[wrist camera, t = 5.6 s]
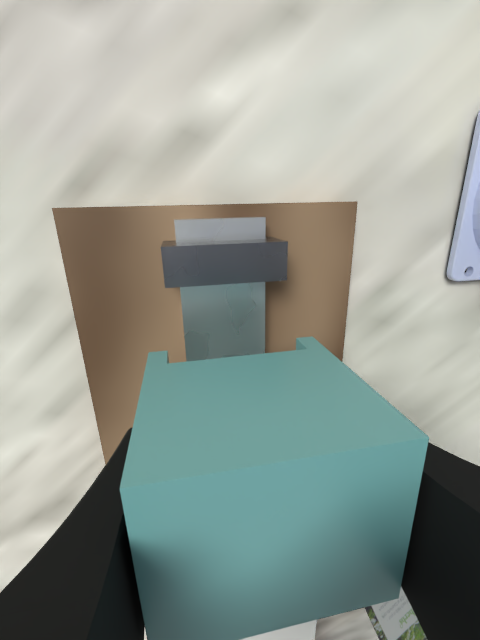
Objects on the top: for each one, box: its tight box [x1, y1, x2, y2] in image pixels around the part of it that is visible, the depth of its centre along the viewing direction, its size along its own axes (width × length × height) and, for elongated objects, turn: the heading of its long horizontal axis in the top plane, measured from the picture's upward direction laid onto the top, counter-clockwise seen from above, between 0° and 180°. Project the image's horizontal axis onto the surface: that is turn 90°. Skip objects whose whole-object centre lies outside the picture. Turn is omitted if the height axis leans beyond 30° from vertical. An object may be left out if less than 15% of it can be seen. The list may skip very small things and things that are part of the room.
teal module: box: [120, 336, 429, 640], centre depth 9 cm, size 6×4×6 cm
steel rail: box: [161, 217, 288, 361], centre depth 15 cm, size 4×21×2 cm, turn 1°
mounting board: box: [52, 202, 357, 464], centre depth 17 cm, size 12×22×1 cm, turn 1°
